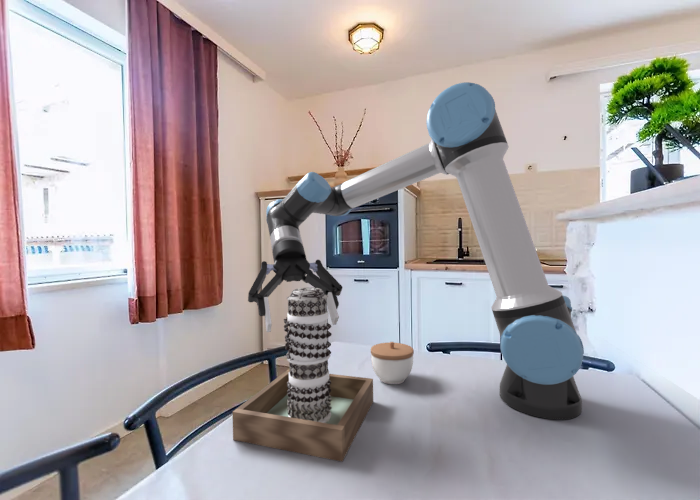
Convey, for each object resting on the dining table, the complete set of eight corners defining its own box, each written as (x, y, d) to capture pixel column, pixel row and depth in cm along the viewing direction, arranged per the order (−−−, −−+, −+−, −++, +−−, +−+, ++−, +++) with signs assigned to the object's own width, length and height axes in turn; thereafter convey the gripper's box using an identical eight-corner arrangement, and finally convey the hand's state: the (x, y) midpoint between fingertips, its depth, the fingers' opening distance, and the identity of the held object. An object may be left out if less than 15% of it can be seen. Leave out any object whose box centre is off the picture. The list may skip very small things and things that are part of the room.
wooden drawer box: (373, 401, 71) (372, 378, 71) (342, 461, 52) (341, 430, 52) (288, 390, 77) (288, 369, 77) (233, 439, 58) (232, 411, 58)
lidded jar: (413, 390, 76) (413, 350, 76) (368, 386, 79) (367, 347, 78) (414, 372, 87) (413, 337, 87) (373, 369, 89) (373, 335, 89)
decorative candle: (276, 417, 64) (273, 289, 64) (313, 400, 71) (310, 285, 70) (305, 435, 58) (302, 294, 57) (342, 415, 64) (340, 288, 64)
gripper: (333, 258, 87) (356, 327, 73) (233, 261, 77) (237, 341, 64) (339, 237, 82) (365, 308, 68) (233, 238, 72) (238, 320, 59)
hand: (303, 324), depth 66 cm, fingers open, 13 cm apart
